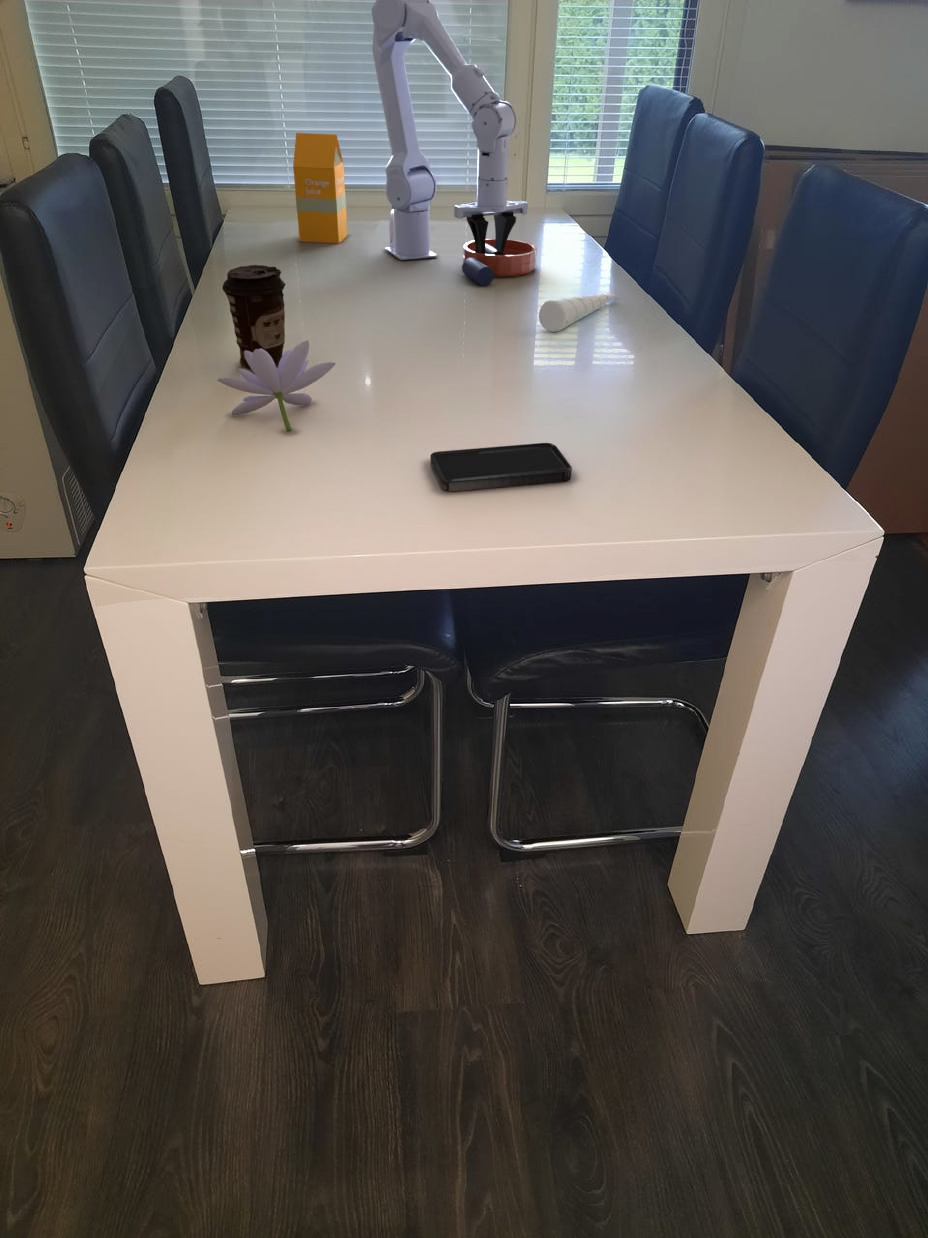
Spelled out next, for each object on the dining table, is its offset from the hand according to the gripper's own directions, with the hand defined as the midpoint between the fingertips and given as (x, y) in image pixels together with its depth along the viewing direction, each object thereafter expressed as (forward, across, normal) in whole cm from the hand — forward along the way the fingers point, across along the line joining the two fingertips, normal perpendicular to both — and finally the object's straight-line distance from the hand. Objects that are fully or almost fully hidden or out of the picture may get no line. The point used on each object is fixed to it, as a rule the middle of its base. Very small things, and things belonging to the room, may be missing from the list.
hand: (489, 255), depth 167 cm
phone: (+3, -36, -80) cm, 88 cm away
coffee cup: (+3, -53, -38) cm, 65 cm away
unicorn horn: (+3, +2, -32) cm, 33 cm away
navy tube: (+1, -7, -7) cm, 10 cm away
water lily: (+3, -55, -56) cm, 79 cm away
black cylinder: (+2, 0, 0) cm, 2 cm away
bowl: (+3, +2, 0) cm, 3 cm away
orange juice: (+3, -23, +36) cm, 43 cm away
